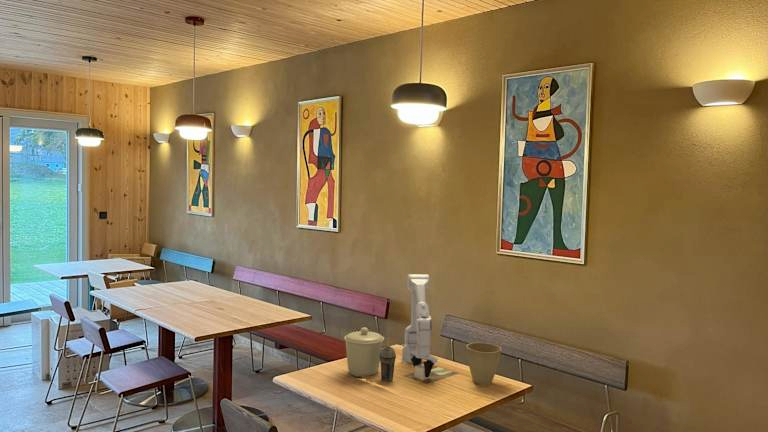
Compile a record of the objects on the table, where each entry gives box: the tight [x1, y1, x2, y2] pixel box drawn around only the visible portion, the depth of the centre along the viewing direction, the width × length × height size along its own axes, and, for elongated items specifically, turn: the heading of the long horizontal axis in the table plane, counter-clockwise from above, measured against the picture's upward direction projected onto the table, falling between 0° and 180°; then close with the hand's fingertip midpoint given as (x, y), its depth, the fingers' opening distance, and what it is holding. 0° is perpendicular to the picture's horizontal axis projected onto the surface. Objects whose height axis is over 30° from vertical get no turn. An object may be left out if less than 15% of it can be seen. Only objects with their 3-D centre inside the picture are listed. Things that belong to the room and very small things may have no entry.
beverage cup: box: [379, 336, 397, 383], centre depth 240 cm, size 7×7×20 cm
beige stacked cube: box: [414, 363, 431, 380], centre depth 244 cm, size 5×5×5 cm
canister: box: [343, 326, 385, 378], centre depth 250 cm, size 18×18×21 cm
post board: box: [403, 365, 459, 385], centre depth 249 cm, size 14×22×5 cm, turn 135°
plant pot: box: [466, 342, 502, 387], centre depth 242 cm, size 15×15×16 cm
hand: (422, 375), depth 244 cm, fingers closed on beige stacked cube, 5 cm apart
